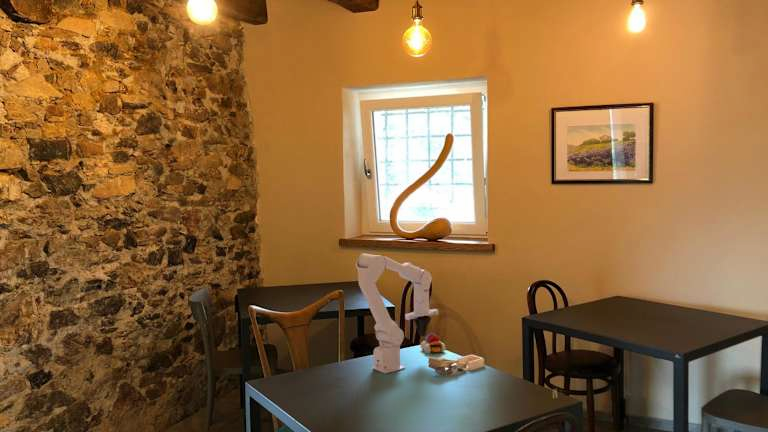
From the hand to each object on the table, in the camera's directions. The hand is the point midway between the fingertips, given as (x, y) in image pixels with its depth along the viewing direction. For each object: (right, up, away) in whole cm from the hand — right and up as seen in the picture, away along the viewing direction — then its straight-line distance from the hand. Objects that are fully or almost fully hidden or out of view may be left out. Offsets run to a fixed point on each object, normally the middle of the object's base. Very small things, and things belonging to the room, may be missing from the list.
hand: (422, 335), depth 237 cm
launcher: (+6, -9, -13) cm, 17 cm away
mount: (+8, -10, -16) cm, 21 cm away
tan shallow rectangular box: (+17, -10, -10) cm, 22 cm away
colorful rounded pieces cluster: (+5, -9, +11) cm, 15 cm away
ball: (+18, -7, -9) cm, 22 cm away
